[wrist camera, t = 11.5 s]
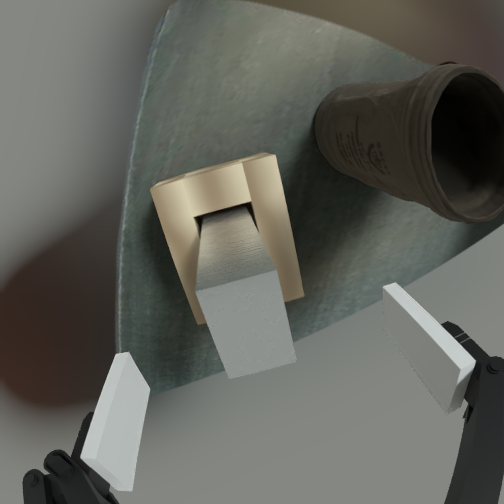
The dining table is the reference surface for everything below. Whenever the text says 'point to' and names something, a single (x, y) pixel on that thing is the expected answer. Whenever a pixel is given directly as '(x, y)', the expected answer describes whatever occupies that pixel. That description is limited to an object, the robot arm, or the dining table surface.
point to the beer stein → (422, 139)
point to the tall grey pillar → (241, 294)
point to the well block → (219, 197)
